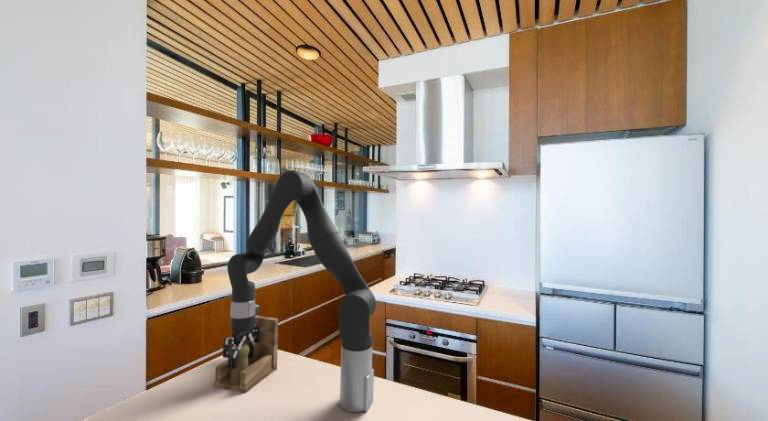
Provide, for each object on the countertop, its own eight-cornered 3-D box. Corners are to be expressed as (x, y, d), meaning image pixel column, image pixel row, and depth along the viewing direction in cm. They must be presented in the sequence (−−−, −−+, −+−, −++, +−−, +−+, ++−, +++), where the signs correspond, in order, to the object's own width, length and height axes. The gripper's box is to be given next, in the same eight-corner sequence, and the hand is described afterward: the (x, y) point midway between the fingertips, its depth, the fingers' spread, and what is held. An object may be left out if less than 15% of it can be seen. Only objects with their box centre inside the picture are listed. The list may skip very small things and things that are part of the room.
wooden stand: (277, 368, 114) (278, 318, 114) (245, 392, 98) (247, 334, 99) (248, 363, 117) (250, 314, 117) (214, 386, 102) (215, 329, 102)
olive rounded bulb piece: (241, 373, 108) (242, 340, 108) (253, 378, 105) (254, 344, 105) (225, 381, 103) (226, 347, 103) (237, 386, 100) (238, 351, 100)
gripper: (236, 321, 97) (235, 375, 97) (266, 308, 111) (265, 355, 111) (216, 319, 99) (215, 371, 99) (248, 306, 113) (247, 352, 113)
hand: (241, 362), depth 105 cm, fingers open, 8 cm apart
